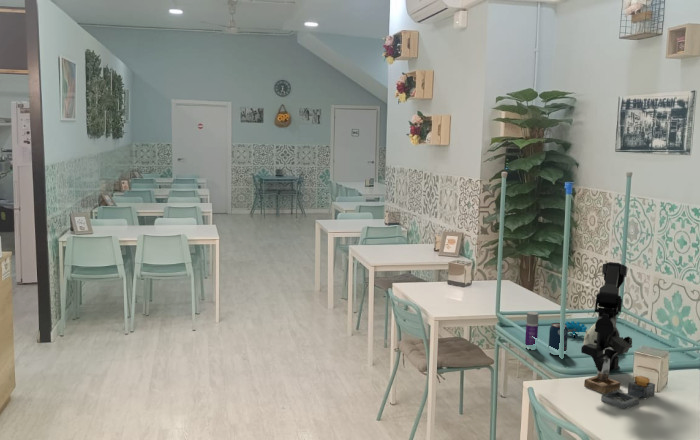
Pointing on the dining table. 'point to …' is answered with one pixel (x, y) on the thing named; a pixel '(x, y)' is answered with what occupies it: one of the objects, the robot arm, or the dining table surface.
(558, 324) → the soda can
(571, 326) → the blue irregular lump
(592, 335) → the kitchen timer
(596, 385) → the brown wooden tray
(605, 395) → the socket block
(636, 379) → the plunger
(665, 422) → the dining table surface
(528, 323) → the container
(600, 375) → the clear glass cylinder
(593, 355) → the robot arm
